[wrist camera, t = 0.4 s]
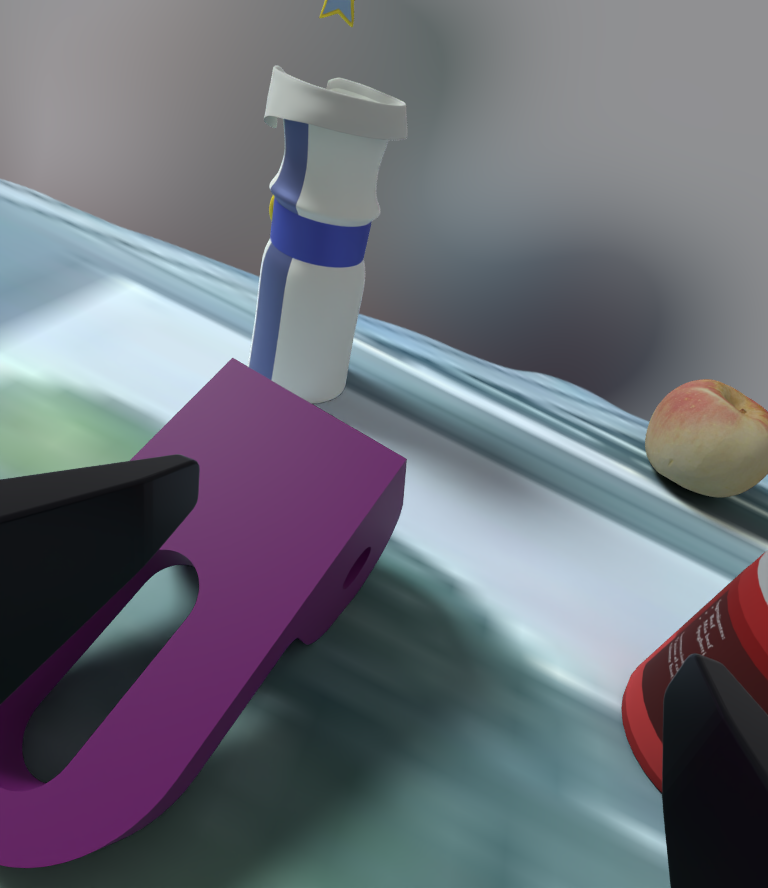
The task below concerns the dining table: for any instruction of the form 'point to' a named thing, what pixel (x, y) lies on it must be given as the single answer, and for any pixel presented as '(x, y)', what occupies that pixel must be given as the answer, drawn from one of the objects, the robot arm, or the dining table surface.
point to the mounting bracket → (210, 609)
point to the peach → (709, 439)
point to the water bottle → (319, 225)
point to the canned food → (711, 635)
